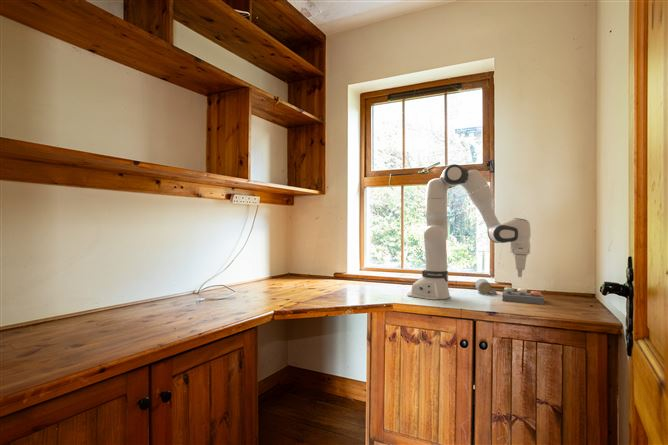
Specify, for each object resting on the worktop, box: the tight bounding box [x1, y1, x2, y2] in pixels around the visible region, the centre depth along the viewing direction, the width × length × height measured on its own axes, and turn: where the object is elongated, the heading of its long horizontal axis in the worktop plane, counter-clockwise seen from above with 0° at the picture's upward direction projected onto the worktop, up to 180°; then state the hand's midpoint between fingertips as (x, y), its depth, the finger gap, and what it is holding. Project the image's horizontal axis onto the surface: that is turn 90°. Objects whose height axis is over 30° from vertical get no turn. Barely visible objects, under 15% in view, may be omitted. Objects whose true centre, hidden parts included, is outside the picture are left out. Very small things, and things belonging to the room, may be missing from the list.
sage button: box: [503, 286, 515, 294], centre depth 177 cm, size 4×4×4 cm
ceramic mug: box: [474, 278, 498, 295], centre depth 193 cm, size 11×8×8 cm
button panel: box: [501, 290, 545, 305], centre depth 174 cm, size 18×12×3 cm, turn 63°
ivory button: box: [516, 287, 528, 295], centre depth 175 cm, size 4×4×4 cm
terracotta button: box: [530, 290, 542, 296], centre depth 172 cm, size 4×4×4 cm
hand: (519, 276), depth 175 cm, fingers closed
